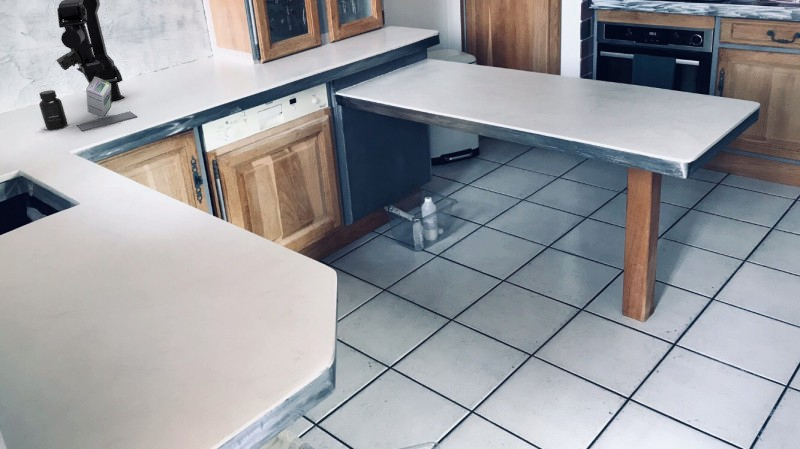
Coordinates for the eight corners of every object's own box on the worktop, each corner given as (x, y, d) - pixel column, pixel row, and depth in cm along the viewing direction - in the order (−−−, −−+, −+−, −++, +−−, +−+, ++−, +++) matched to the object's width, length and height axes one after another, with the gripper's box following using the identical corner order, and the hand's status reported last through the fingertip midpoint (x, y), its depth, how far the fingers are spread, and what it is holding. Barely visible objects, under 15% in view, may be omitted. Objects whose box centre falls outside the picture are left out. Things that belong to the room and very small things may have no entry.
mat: (76, 126, 243) (76, 124, 243) (130, 112, 252) (129, 111, 251) (82, 131, 237) (82, 130, 237) (137, 117, 246) (137, 115, 245)
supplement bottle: (54, 131, 240) (43, 96, 235) (42, 129, 243) (31, 94, 238) (72, 124, 245) (62, 89, 240) (60, 122, 248) (49, 88, 243)
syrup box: (103, 119, 248) (103, 96, 235) (86, 112, 247) (85, 88, 234) (111, 106, 250) (112, 83, 238) (94, 99, 249) (94, 75, 237)
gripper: (48, 43, 241) (62, 89, 248) (61, 51, 227) (76, 99, 234) (82, 36, 246) (95, 81, 253) (97, 43, 232) (111, 91, 239)
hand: (93, 88), depth 245 cm, fingers closed
